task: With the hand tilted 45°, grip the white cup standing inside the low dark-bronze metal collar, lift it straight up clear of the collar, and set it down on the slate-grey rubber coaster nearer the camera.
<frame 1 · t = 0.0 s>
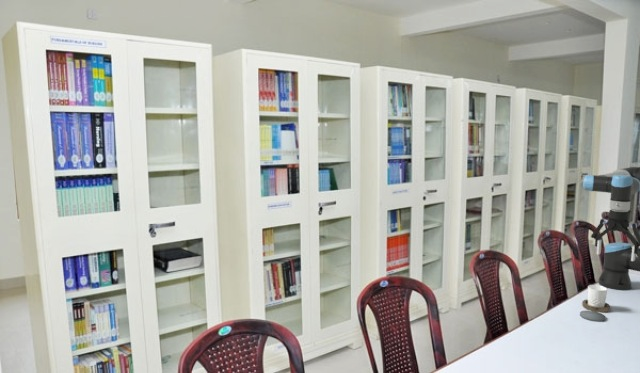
hand: (615, 257, 209), 28 cm above the table, tool pointing down, fingers open, 13 cm apart
collar: (595, 307, 224), on the table
coaster: (592, 316, 213), on the table
white cup: (595, 308, 224), resting in collar
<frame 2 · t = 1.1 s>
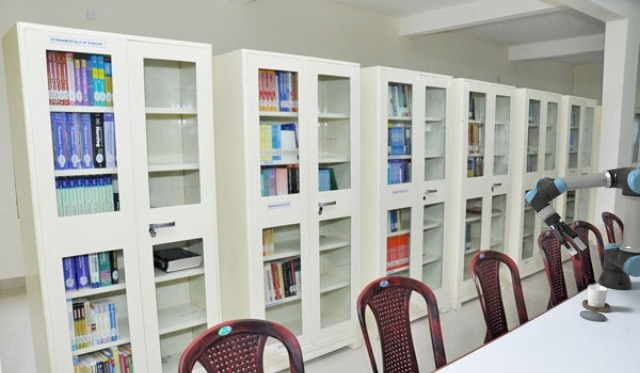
hand: (579, 251, 227), 26 cm above the table, tool tilted 45°, fingers open, 13 cm apart
nothing on the table moved.
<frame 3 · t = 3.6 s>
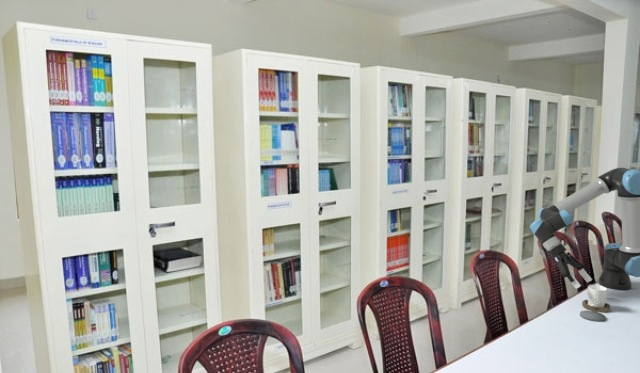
hand: (584, 284, 226), 10 cm above the table, tool tilted 45°, fingers open, 13 cm apart
nothing on the table moved.
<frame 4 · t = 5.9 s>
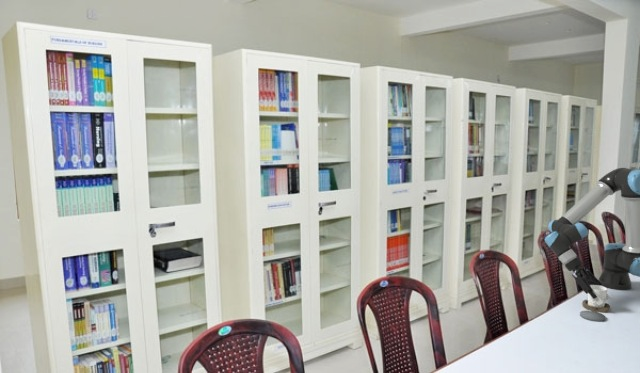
hand: (604, 301, 220), 4 cm above the table, tool tilted 45°, fingers closed on white cup, 8 cm apart
white cup: (595, 308, 224), resting in collar, touching gripper
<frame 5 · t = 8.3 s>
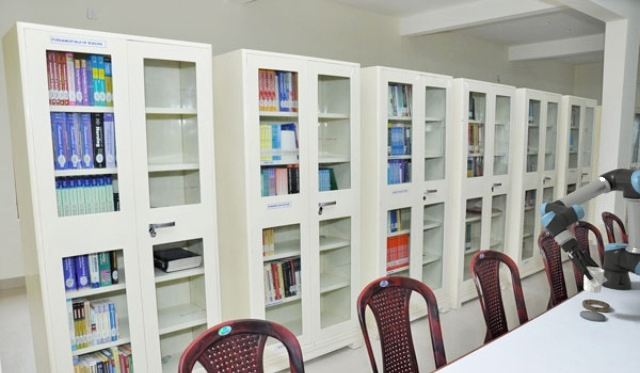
hand: (601, 283, 211), 15 cm above the table, tool tilted 45°, fingers closed on white cup, 8 cm apart
white cup: (592, 290, 214), point 11 cm above the table, touching gripper
when the fingers open (7 cm above the table, at t = 10.5 s): white cup drops 1 cm, resting on coaster.
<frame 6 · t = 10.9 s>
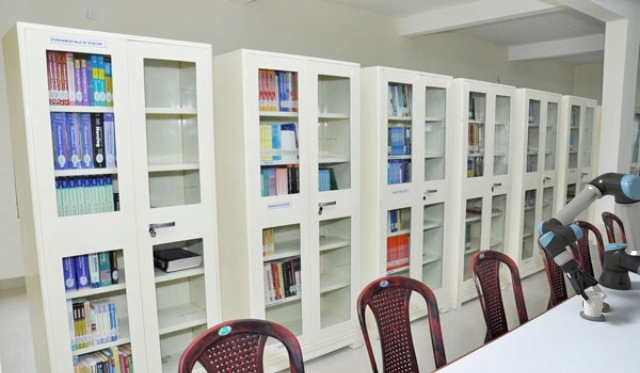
hand: (599, 302, 210), 8 cm above the table, tool tilted 45°, fingers open, 13 cm apart
white cup: (592, 315, 213), point 1 cm above the table, touching coaster
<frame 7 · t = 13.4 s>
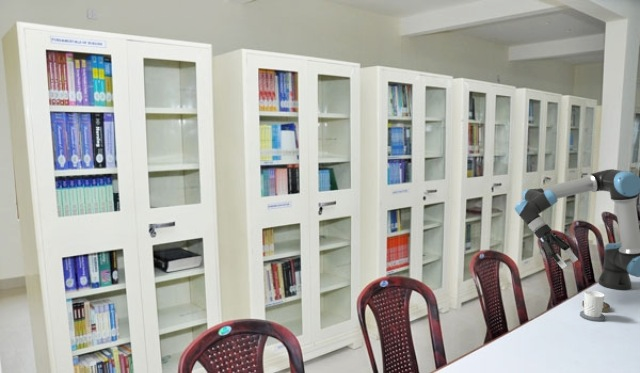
hand: (570, 264, 223), 21 cm above the table, tool tilted 45°, fingers open, 13 cm apart
nothing on the table moved.
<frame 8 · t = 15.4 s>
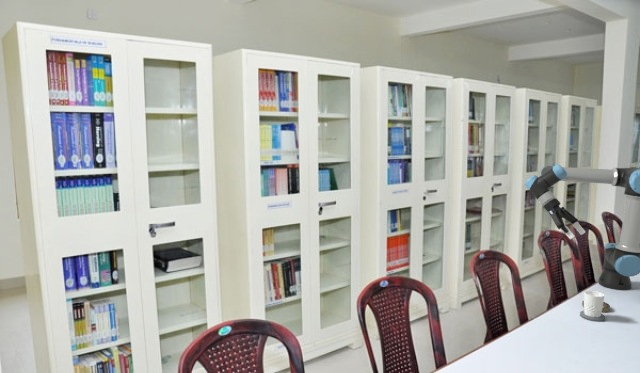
hand: (578, 235, 233), 32 cm above the table, tool tilted 45°, fingers open, 13 cm apart
nothing on the table moved.
at the end: white cup 0.1 cm off-centre on the coaster, point 0.8 cm above the coaster's base; white cup tilted 0°; white cup touching coaster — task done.
